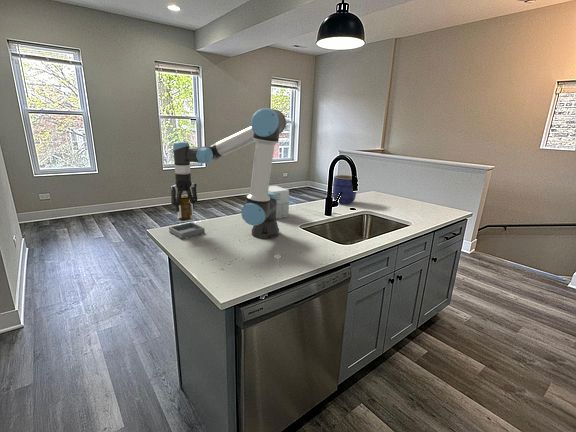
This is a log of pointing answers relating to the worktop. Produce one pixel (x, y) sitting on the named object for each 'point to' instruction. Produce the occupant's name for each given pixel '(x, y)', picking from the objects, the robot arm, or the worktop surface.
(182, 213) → the condiment
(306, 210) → the worktop surface
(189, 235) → the bin
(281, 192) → the supplement box
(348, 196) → the planter
